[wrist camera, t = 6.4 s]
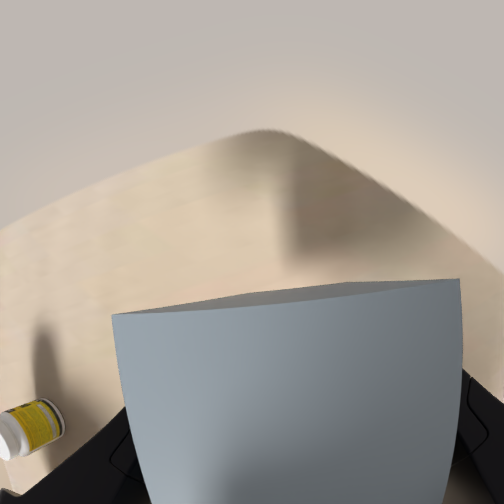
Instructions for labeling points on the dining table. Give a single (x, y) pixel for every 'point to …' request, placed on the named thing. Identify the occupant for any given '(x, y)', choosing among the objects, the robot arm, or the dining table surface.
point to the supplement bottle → (29, 428)
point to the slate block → (297, 394)
